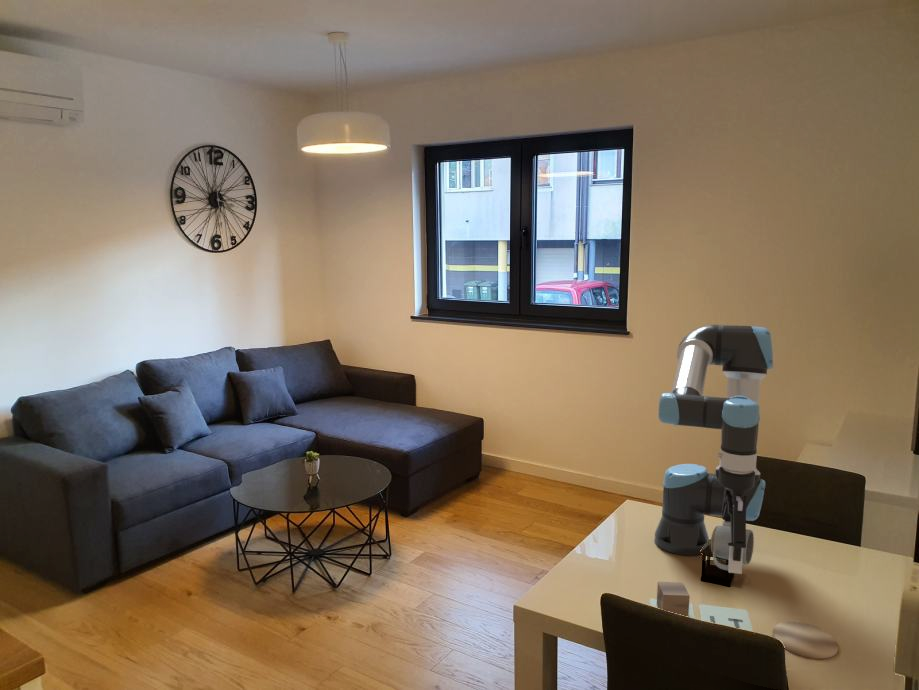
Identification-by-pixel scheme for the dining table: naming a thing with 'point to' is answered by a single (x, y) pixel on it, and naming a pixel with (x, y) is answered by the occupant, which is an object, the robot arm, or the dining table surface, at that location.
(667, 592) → the walnut block
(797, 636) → the coaster
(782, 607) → the dining table surface
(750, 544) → the ceramic mug
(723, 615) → the plate
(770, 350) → the robot arm
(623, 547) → the dining table surface
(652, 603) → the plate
